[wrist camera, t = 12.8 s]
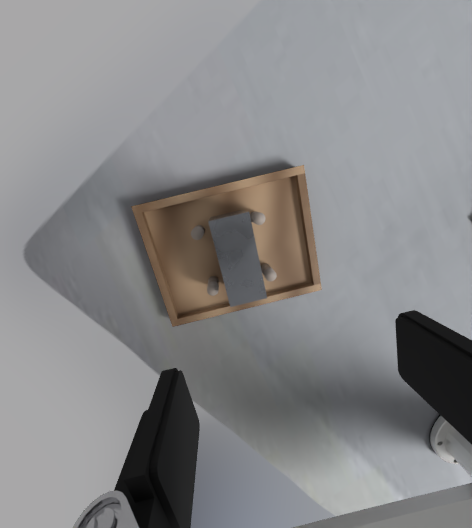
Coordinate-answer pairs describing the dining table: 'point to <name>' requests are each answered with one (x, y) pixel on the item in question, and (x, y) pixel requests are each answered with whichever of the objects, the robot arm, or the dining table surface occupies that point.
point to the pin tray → (203, 250)
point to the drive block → (238, 257)
